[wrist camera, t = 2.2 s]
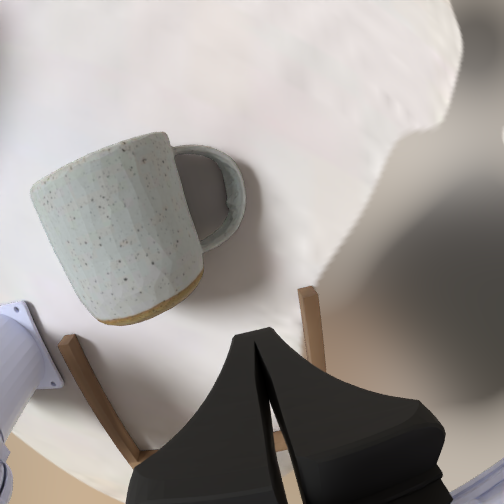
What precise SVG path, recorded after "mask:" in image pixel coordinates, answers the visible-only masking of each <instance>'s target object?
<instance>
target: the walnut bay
mask: <svg viewBox="0 0 504 504" xmlns="http://www.w3.org/2000/svg"><path fill="white" fill-rule="evenodd" d="M298 296H299V303H300V309H301V316H302V323H303V330H304V338H305V345H306V352H307V360H308V361H309V362H310V363H311V364H313V365H314V366H316V367H317V368H319V369H321V370H322V371H324V372H326V364H325V354H324V344H323V334H322V325H321V316H320V307H319V299H318V294H317V292H316V291H315V290H314V288H313V287H312V286H308V287H304V288H300V289H298ZM58 348H59V350H60V352H61V354H62V356H63V358H64V360H65V362H66V364H67V366H68V368H69V370H70V372H71V373H72V375H73V377H74V379H75V381H76V383H77V384H78V386H79V388H80V390H81V391H82V393H83V395H84V397H85V398H86V400H87V402H88V403H89V405H90V407H91V408H92V410H93V412H94V413H95V415H96V416H97V418H98V420H99V421H100V423H101V424H102V426H103V427H104V429H105V430H106V432H107V433H108V435H109V436H110V438H111V439H112V441H113V442H114V444H115V445H116V447H117V448H118V449H119V451H120V452H121V454H122V455H123V456H124V458H125V459H126V460H127V462H128V463H129V464H130V466H131V467H132V468H133V470H134V467H135V466H137V465H139V464H140V463H142V462H143V461H144V460H146V459H147V458H149V457H150V456H151V455H153V454H154V453H155V452H157V451H158V450H148V451H139V449H138V448H137V446H136V445H135V443H134V442H133V440H132V438H131V437H130V435H129V434H128V432H127V431H126V429H125V427H124V426H123V424H122V423H121V421H120V419H119V418H118V416H117V414H116V413H115V411H114V409H113V407H112V406H111V404H110V402H109V400H108V399H107V397H106V395H105V393H104V392H103V390H102V388H101V386H100V384H99V382H98V380H97V378H96V377H95V375H94V373H93V371H92V369H91V367H90V365H89V363H88V361H87V359H86V357H85V355H84V352H83V350H82V348H81V346H80V344H79V342H78V340H77V337H76V335H75V334H71V335H65V336H64V337H63V339H62V340H61V341H60V343H59V344H58ZM273 435H274V443H275V451H276V452H278V451H283V450H287V449H288V448H287V445H286V443H285V440H284V438H283V435H282V432H281V431H276V432H273Z"/></svg>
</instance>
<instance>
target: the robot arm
mask: <svg viewBox="0 0 504 504" xmlns="http://www.w3.org/2000/svg"><path fill="white" fill-rule="evenodd" d="M16 307H18V309H19V310H17V308H16ZM53 382H54V383H53ZM63 385H64V381H63V379H62V378H61V376H60V374H59V372H58V370H57V368H56V366H55V365H54V363H53V361H52V359H51V357H50V355H49V353H48V351H47V349H46V347H45V345H44V343H43V341H42V338H41V336H40V334H39V332H38V330H37V328H36V325H35V323H34V321H33V318H32V316H31V314H30V311H29V309H28V307H27V305H26V303H25V302H23V301H17V302H13V303H8V304H4V305H0V504H8V503H9V501H10V498H11V495H12V490H13V475H12V471H11V469H10V467H9V466H8V465H7V464H6V463H5V462H6V460H7V458H8V456H9V454H10V451H9V450H8V448H7V447H6V446H5V442H6V440H7V438H8V436H9V434H10V433H11V431H12V429H13V427H14V425H15V424H16V422H17V420H18V418H19V417H20V415H21V413H22V412H23V410H24V408H25V407H26V405H27V403H28V402H29V400H30V398H31V397H32V395H33V393H34V392H35V390H36V389H54V388H62V387H63ZM269 401H270V403H271V406H272V409H273V411H274V414H275V417H276V419H277V422H278V425H279V427H280V430H281V432H282V435H283V438H284V440H285V443H286V445H287V448H288V451H289V454H290V457H291V461H292V465H293V468H294V472H295V476H296V479H297V483H298V487H299V490H300V494H301V498H302V501H303V504H504V458H502V459H501V460H500V461H498V462H497V463H495V464H494V465H493V466H491V467H490V468H488V469H487V470H486V471H484V472H482V473H481V474H479V475H478V476H476V477H475V478H473V479H471V480H470V481H468V482H467V483H465V484H464V485H462V486H460V487H458V488H457V489H455V490H453V491H452V492H450V493H449V492H448V490H447V488H446V487H445V485H444V484H443V482H442V480H441V478H442V476H443V474H442V472H441V470H440V468H439V467H438V465H437V464H436V463H437V461H438V458H439V455H440V453H441V450H442V447H443V444H444V441H445V435H446V433H445V430H444V427H443V426H442V425H441V423H440V422H439V421H438V419H437V418H436V417H435V416H434V415H433V414H432V413H431V412H430V410H428V409H427V408H426V407H425V406H424V405H423V404H422V403H421V402H420V401H419V400H413V399H406V398H400V397H393V396H388V395H383V394H379V393H375V392H372V391H368V390H365V389H362V388H359V387H356V386H354V385H351V384H349V383H346V382H343V381H341V380H339V379H337V378H335V377H333V376H331V375H329V374H327V373H326V372H324V371H322V370H321V369H319V368H317V367H316V366H314V365H313V364H311V363H310V362H309V361H307V360H306V359H304V358H303V357H302V356H300V355H299V354H298V353H297V352H296V351H294V350H293V349H292V348H291V347H290V346H289V345H288V344H286V343H285V342H284V341H283V340H282V339H281V338H280V336H279V335H278V334H277V333H276V332H275V331H274V329H272V328H271V327H268V328H263V329H259V330H255V331H251V332H246V333H242V334H238V335H235V336H234V337H233V338H232V343H231V346H230V350H229V353H228V355H227V358H226V361H225V363H224V365H223V368H222V370H221V372H220V374H219V376H218V378H217V380H216V382H215V384H214V386H213V388H212V390H211V391H210V393H209V395H208V396H207V398H206V399H205V401H204V402H203V404H202V405H201V407H200V408H199V409H198V411H197V412H196V413H195V414H194V416H193V417H192V418H191V419H190V421H189V422H188V423H187V424H186V425H185V426H184V427H183V429H182V430H181V431H179V432H178V433H177V434H176V435H175V436H174V437H173V438H172V439H171V440H170V441H169V442H168V443H167V444H165V445H164V446H163V447H162V448H161V449H159V450H158V451H157V452H155V453H154V454H153V455H151V456H150V457H149V458H147V459H146V460H144V461H143V462H142V463H140V464H139V465H137V466H135V467H134V470H133V474H132V477H131V479H130V483H129V487H128V492H127V498H126V504H288V502H287V499H286V494H285V490H284V486H283V482H282V478H281V474H280V470H279V466H278V462H277V457H276V451H275V443H274V435H273V427H272V419H271V411H270V403H269Z"/></svg>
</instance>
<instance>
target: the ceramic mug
mask: <svg viewBox="0 0 504 504" xmlns="http://www.w3.org/2000/svg"><path fill="white" fill-rule="evenodd" d="M181 154H196V155H202V156H205V157H208V158H210V159H212V160H214V161H215V162H216V163H217V164H218V166H219V168H220V169H221V171H222V174H223V178H224V183H225V187H226V192H227V201H226V205H227V207H228V208H229V212H228V216H227V217H226V219H225V221H224V223H223V224H222V226H221V227H220V228H219V229H218V230H216V231H215V232H214V233H213V234H212V235H210V236H208V237H207V238H205V239H204V240H202V241H199V238H198V235H197V232H196V229H195V226H194V223H193V220H192V217H191V215H190V212H189V209H188V206H187V202H186V199H185V195H184V191H183V187H182V183H181V180H180V177H179V174H178V171H177V167H176V163H175V160H174V157H175V155H181ZM30 197H31V200H32V202H33V205H34V207H35V209H36V211H37V214H38V216H39V218H40V221H41V223H42V225H43V228H44V230H45V232H46V234H47V237H48V239H49V241H50V243H51V246H52V248H53V250H54V252H55V254H56V256H57V258H58V260H59V261H60V263H61V265H62V267H63V269H64V271H65V273H66V275H67V277H68V279H69V281H70V283H71V285H72V287H73V289H74V291H75V293H76V294H77V296H78V298H79V299H80V301H81V302H82V303H83V305H84V306H85V307H86V308H87V310H88V311H89V312H90V313H91V314H92V316H93V317H95V318H96V319H97V320H98V321H100V322H101V323H104V324H107V325H115V326H125V325H131V324H136V323H139V322H142V321H145V320H148V319H151V318H153V317H155V316H157V315H159V314H161V313H163V312H165V311H167V310H169V309H171V308H173V307H174V306H176V305H177V304H178V303H180V302H181V301H183V300H184V299H185V298H187V297H188V296H189V295H190V294H191V293H192V292H193V290H194V289H195V288H196V287H197V285H198V283H199V281H200V279H201V277H202V275H203V272H204V266H203V257H202V254H203V253H204V252H206V251H210V250H212V249H213V248H215V247H218V246H219V245H220V244H222V243H223V242H225V241H227V240H228V239H229V238H230V237H231V235H232V234H233V233H234V232H235V231H236V230H237V229H238V227H239V225H240V223H241V221H242V218H243V215H244V212H245V209H246V189H245V185H244V181H243V177H242V174H241V172H240V170H239V168H238V166H237V164H236V163H235V162H234V161H233V160H232V159H231V158H230V157H229V156H228V155H226V154H225V153H223V152H221V151H219V150H217V149H214V148H212V147H209V146H203V145H184V146H177V147H172V146H171V145H170V141H169V138H168V136H167V134H166V133H164V132H153V133H149V134H145V135H140V136H138V137H134V138H131V139H128V140H124V141H121V142H119V143H116V144H113V145H110V146H108V147H105V148H102V149H100V150H98V151H95V152H92V153H90V154H87V155H86V156H84V157H81V158H79V159H77V160H75V161H73V162H71V163H69V164H67V165H65V166H63V167H61V168H59V169H58V170H56V171H54V172H53V173H51V174H49V175H47V176H45V177H44V178H42V179H40V180H39V181H37V182H36V183H35V184H34V185H33V186H32V188H31V190H30Z"/></svg>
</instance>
